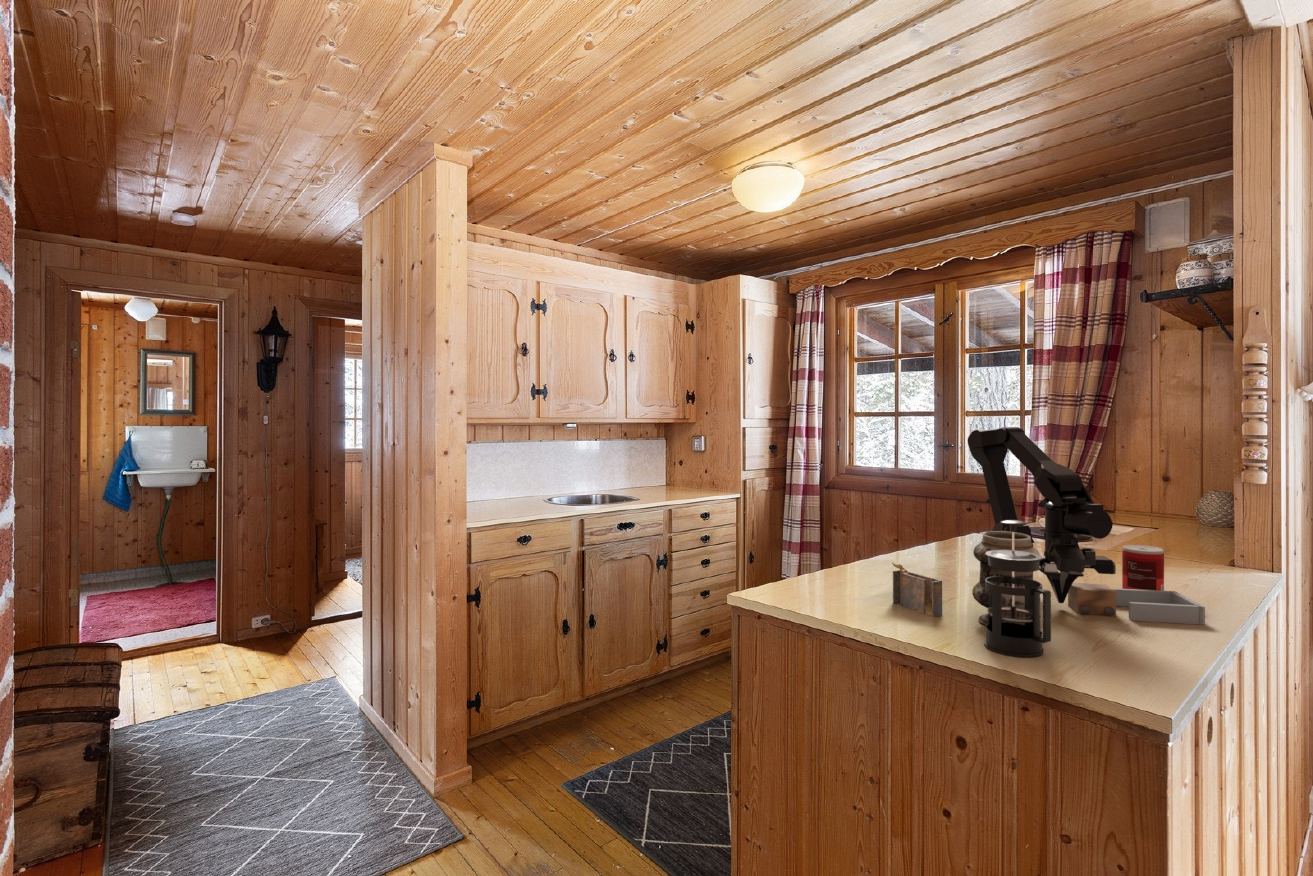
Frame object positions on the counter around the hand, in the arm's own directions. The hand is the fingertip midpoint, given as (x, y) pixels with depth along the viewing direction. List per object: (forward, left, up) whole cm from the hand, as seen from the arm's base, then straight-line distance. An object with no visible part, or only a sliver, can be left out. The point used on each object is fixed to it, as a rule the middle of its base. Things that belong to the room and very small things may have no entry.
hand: (1060, 602), depth 139 cm
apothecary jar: (-14, -14, -2) cm, 19 cm away
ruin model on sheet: (-30, -7, -2) cm, 30 cm away
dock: (+17, 0, -1) cm, 17 cm away
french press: (-15, -29, -2) cm, 33 cm away
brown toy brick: (+6, 0, -1) cm, 6 cm away
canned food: (+21, +15, -2) cm, 26 cm away
